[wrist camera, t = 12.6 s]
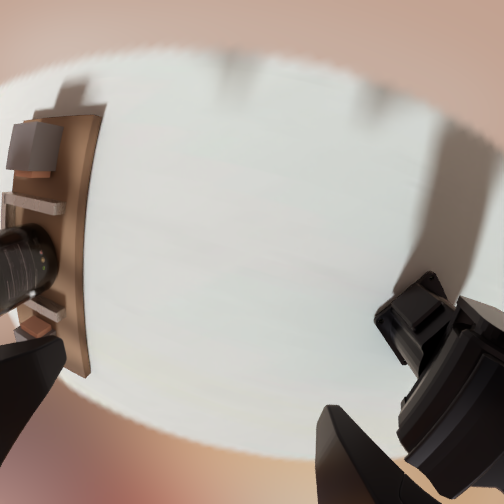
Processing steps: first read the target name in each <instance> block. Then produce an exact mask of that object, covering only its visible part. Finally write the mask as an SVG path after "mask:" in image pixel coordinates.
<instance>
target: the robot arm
mask: <svg viewBox="0 0 504 504" xmlns="http://www.w3.org/2000/svg"><path fill="white" fill-rule="evenodd" d="M430 276H432V278H431V279H430ZM380 319H382V321H381V322H378V321H379V320H380ZM374 323H375V325H376V326H377V328H378V329H379V331H380V332H381V334H382V335H383V337H384V338H385V340H386V341H387V343H388V344H389V346H390V347H391V349H392V350H393V352H394V353H395V355H396V356H397V358H398V359H399V361H400V363H401V364H402V365H407V364H408V365H409V367H410V368H411V370H412V371H413V373H414V374H415V376H416V377H417V379H418V380H417V382H416V383H415V385H414V386H413V388H412V389H411V391H410V392H409V394H408V395H407V397H404V399H403V400H402V402H401V412H400V414H399V416H398V421H399V429H398V430H397V436H398V438H399V441H400V443H401V445H402V446H403V447H404V449H405V450H406V451H407V452H408V455H407V456H406V457H405V458H404V460H405V461H406V462H407V463H409V464H411V465H412V466H414V467H416V468H417V469H419V470H420V471H421V472H422V473H423V474H424V475H426V477H427V478H428V479H429V480H430V482H431V483H432V485H433V486H434V487H435V489H436V490H437V492H438V493H439V494H440V495H442V496H444V497H446V498H449V499H456V498H457V497H458V496H459V495H461V494H462V493H463V492H464V491H466V490H467V489H468V488H469V487H489V488H497V489H498V490H500V491H501V492H502V493H503V494H504V312H502V311H500V310H499V309H497V308H495V307H492V306H489V305H487V304H484V303H481V302H478V301H475V300H472V299H469V298H466V297H463V296H459V298H458V301H457V306H456V307H455V306H454V305H453V304H451V303H450V302H449V301H448V299H447V297H446V295H445V293H444V290H443V288H442V286H441V284H440V282H439V279H438V277H437V275H436V274H435V273H434V272H432V271H429V272H427V273H426V274H425V275H424V276H423V277H422V278H421V279H420V280H418V281H417V282H416V283H414V284H413V285H412V286H411V287H409V288H408V289H407V290H406V291H405V292H404V293H402V294H401V295H400V296H399V297H398V298H396V299H395V300H394V301H393V302H392V304H390V305H389V306H388V307H387V308H385V309H384V310H383V311H382V312H380V313H379V314H378V315H377V316H376V317H375V318H374ZM404 360H405V361H404ZM66 361H67V355H66V351H65V346H64V342H63V340H62V339H61V338H60V337H58V336H56V335H49V336H45V337H40V338H35V339H30V340H26V341H21V342H16V343H11V344H6V345H1V346H0V467H1V465H2V463H3V461H4V460H5V458H6V456H7V454H8V453H9V451H10V449H11V448H12V446H13V444H14V443H15V441H16V440H17V438H18V436H19V435H20V433H21V432H22V430H23V429H24V427H25V426H26V424H27V423H28V421H29V420H30V418H31V416H32V415H33V413H34V412H35V411H36V409H37V408H38V406H39V405H40V404H41V402H42V401H43V399H44V398H45V397H46V395H47V394H48V392H49V391H50V389H51V387H52V386H53V384H54V382H55V380H56V379H57V377H58V375H59V373H60V372H61V370H62V368H63V367H64V365H65V363H66ZM315 470H316V483H317V496H318V504H442V503H440V502H438V501H437V500H436V499H434V498H433V497H432V496H430V495H429V494H428V493H427V492H425V491H424V490H423V489H422V488H421V487H419V486H418V485H417V484H416V483H415V482H414V481H413V480H412V479H410V477H409V476H408V475H407V474H404V472H403V471H402V470H401V469H400V468H399V467H398V466H397V465H396V464H395V463H394V462H393V461H392V460H391V459H390V458H389V457H388V456H387V455H386V454H385V453H384V452H383V451H382V450H381V449H380V448H379V447H378V446H377V445H376V444H375V443H374V442H373V441H372V439H371V438H370V437H369V436H368V435H367V434H366V433H365V432H364V431H363V430H362V429H361V428H360V427H359V426H358V425H357V424H356V423H355V422H354V421H353V420H352V419H351V417H350V416H349V415H348V414H347V413H346V412H345V411H344V410H343V409H342V408H341V407H340V406H339V405H326V406H325V407H324V409H323V411H322V413H321V416H320V418H319V420H318V422H317V427H316V457H315Z"/></svg>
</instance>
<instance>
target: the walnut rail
mask: <svg viewBox="0 0 504 504" xmlns="http://www.w3.org/2000/svg"><path fill="white" fill-rule="evenodd" d="M101 119H102V117H99V116H96V115H77V116H62V117H51V118H42V119H34V120H26V121H24V122H23V123H21V124H14V127H13V131H12V136H11V141H10V146H9V152H8V158H7V165H6V169H9V170H14V179H13V189H12V191H11V192H2V206H1V229H4V228H8V227H12V226H17V225H21V224H26V223H36V224H38V225H40V226H42V227H43V228H44V229H45V230H46V231H47V233H48V234H49V236H50V237H51V239H52V241H53V244H54V246H55V250H56V254H57V261H58V270H57V276H56V279H55V282H54V284H53V285H52V286H51V288H50V289H48V290H47V291H45V292H43V293H41V294H40V295H38V296H36V297H34V298H32V299H31V300H29V301H27V302H25V303H23V304H21V305H20V306H18V307H17V312H18V317H19V323H20V326H19V327H18V328H16V329H14V334H15V338H16V342H21V341H26V340H30V339H35V338H40V337H45V336H49V335H56V336H58V337H60V338H61V339H62V340H63V342H64V346H65V351H66V355H67V361H66V363H65V365H64V367H65V368H67V369H68V370H70V371H72V372H74V373H76V374H77V375H79V376H81V377H83V378H86V377H87V376H88V375H89V374H90V373H91V372H90V365H89V359H88V351H87V343H86V334H85V322H84V308H83V237H84V222H85V211H86V202H87V193H88V186H89V179H90V172H91V166H92V161H93V155H94V150H95V145H96V141H97V136H98V132H99V127H100V123H101Z"/></svg>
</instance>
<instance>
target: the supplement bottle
mask: <svg viewBox="0 0 504 504" xmlns="http://www.w3.org/2000/svg"><path fill="white" fill-rule="evenodd" d="M57 270H58V261H57V254H56V250H55V246H54V244H53V241H52V239H51V237H50V236H49V234H48V233H47V231H46V230H45V229H44V228H43V227H42V226H40V225H38V224H36V223H26V224H21V225H17V226H12V227H8V228H4V229H0V316H2V315H4V314H6V313H7V312H9V311H11V310H13V309H14V308H16V307H18V306H20V305H21V304H23V303H25V302H27V301H29V300H31V299H32V298H34V297H36V296H38V295H40V294H41V293H43V292H45V291H47V290H48V289H50V288H51V286H52V285H53V284H54V282H55V279H56V276H57Z"/></svg>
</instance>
